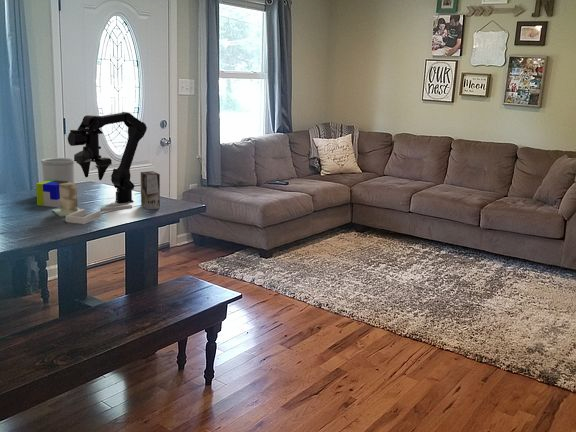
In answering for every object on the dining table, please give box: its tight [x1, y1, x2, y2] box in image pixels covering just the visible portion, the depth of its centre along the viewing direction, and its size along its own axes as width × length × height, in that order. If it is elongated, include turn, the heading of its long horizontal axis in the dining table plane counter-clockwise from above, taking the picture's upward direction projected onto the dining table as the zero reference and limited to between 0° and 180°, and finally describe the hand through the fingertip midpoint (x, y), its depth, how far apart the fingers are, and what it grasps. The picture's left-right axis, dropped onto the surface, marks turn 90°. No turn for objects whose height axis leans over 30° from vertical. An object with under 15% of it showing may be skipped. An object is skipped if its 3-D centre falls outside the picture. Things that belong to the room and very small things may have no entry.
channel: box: [64, 208, 102, 225], centre depth 249 cm, size 13×8×2 cm, turn 168°
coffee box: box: [140, 170, 161, 210], centre depth 273 cm, size 9×6×16 cm
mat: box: [51, 207, 83, 217], centre depth 260 cm, size 11×11×1 cm
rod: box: [100, 204, 133, 212], centre depth 268 cm, size 14×2×2 cm, turn 127°
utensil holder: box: [40, 157, 76, 184], centre depth 289 cm, size 15×15×18 cm
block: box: [59, 182, 79, 213], centre depth 258 cm, size 5×5×12 cm
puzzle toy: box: [35, 180, 68, 208], centre depth 272 cm, size 10×10×10 cm
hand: (93, 178), depth 268 cm, fingers open, 9 cm apart
